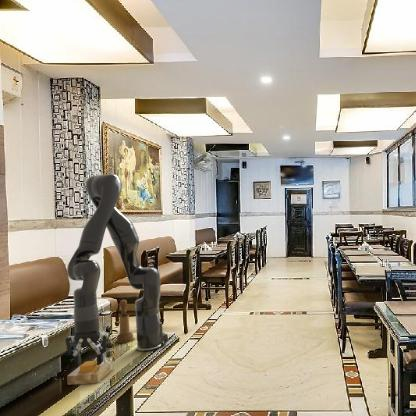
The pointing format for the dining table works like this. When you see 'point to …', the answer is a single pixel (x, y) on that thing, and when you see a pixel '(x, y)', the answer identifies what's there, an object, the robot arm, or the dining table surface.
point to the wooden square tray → (88, 375)
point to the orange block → (89, 366)
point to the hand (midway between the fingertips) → (89, 364)
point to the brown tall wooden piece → (124, 325)
